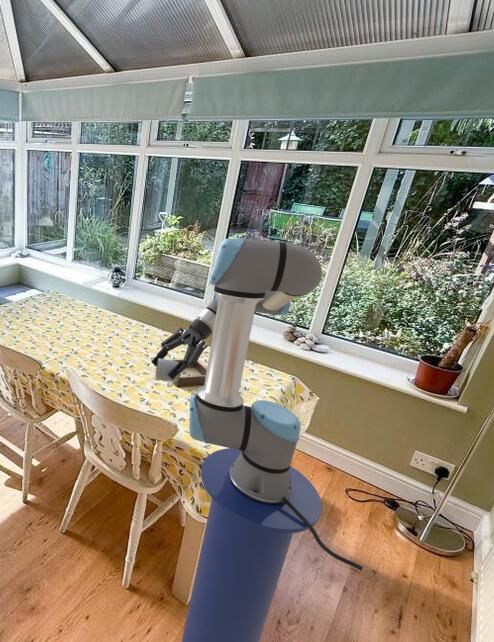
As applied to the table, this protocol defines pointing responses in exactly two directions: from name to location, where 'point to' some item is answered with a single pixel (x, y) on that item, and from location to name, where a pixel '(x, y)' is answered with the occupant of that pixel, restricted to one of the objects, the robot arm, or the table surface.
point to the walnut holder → (192, 380)
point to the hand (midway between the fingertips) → (161, 370)
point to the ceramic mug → (165, 370)
